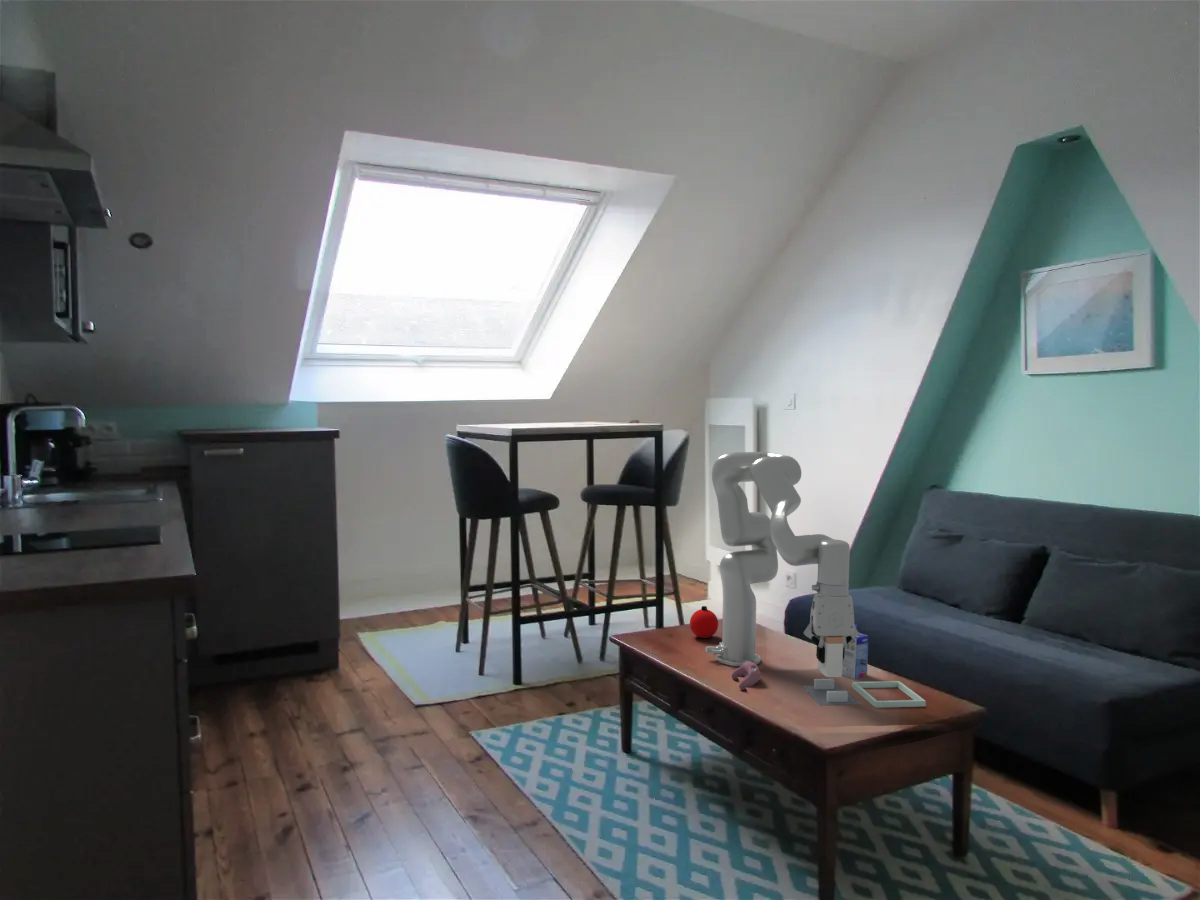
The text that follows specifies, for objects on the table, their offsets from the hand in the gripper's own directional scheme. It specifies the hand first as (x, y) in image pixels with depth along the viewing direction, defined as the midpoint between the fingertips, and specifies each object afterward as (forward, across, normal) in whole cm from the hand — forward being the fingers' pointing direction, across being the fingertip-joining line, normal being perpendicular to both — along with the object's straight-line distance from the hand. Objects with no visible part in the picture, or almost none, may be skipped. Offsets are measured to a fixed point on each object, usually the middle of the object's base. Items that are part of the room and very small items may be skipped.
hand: (830, 660), depth 211 cm
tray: (+10, +14, -2) cm, 17 cm away
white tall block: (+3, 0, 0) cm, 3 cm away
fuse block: (+10, 0, 0) cm, 10 cm away
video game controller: (+10, -18, +12) cm, 24 cm away
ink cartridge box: (+10, +11, +16) cm, 22 cm away
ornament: (+11, -20, +56) cm, 61 cm away
